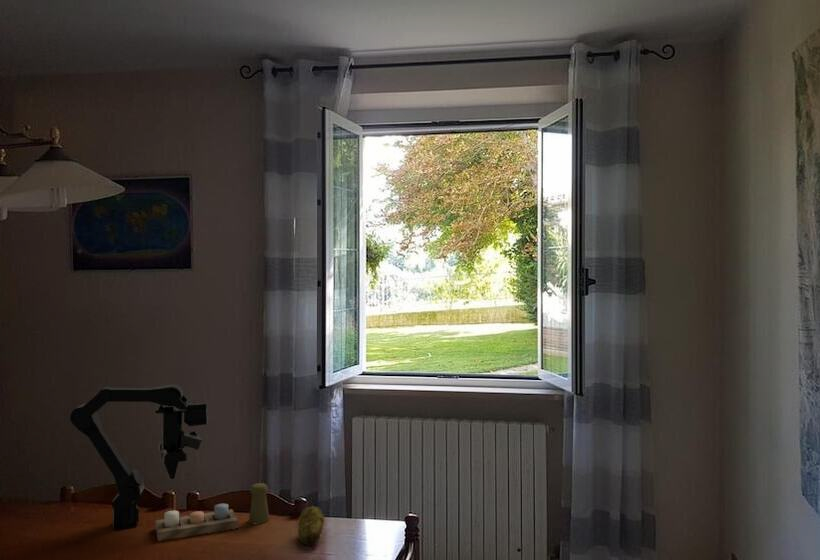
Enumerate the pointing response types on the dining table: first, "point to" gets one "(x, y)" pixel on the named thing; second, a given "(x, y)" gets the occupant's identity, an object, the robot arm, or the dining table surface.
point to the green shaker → (259, 504)
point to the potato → (310, 525)
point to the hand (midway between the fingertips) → (172, 478)
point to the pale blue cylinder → (220, 511)
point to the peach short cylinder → (196, 517)
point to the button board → (195, 526)
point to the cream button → (171, 519)
